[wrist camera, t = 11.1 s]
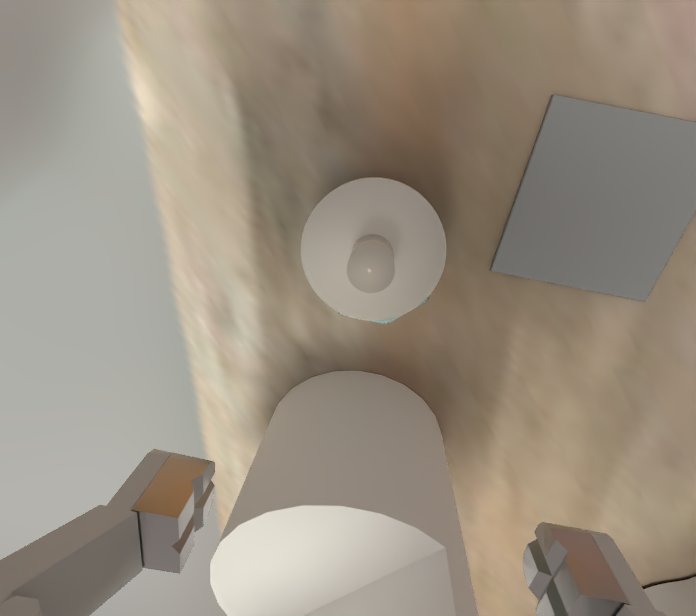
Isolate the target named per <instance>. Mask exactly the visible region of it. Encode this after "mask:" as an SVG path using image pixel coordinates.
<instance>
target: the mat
mask: <svg viewBox="0 0 696 616" xmlns="http://www.w3.org/2000/svg"><path fill="white" fill-rule="evenodd" d="M695 212H696V122H692V121H686V120H681V119H676V118H671V117H666V116H661V115H656V114H651V113H646V112H641V111H635V110H630V109H625V108H620V107H615V106H610V105H605V104H600V103H595V102H590V101H584V100H579V99H574V98H569V97H564V96H559V95H552V97H551V100H550V103H549V105H548V108H547V111H546V114H545V117H544V119H543V122H542V125H541V128H540V131H539V134H538V136H537V139H536V142H535V145H534V148H533V150H532V153H531V156H530V159H529V162H528V164H527V167H526V170H525V173H524V176H523V178H522V181H521V184H520V187H519V190H518V193H517V195H516V198H515V201H514V204H513V207H512V209H511V212H510V215H509V218H508V221H507V223H506V226H505V229H504V232H503V235H502V237H501V240H500V243H499V246H498V249H497V251H496V254H495V257H494V260H493V263H492V266H491V268H490V271H493V272H498V273H503V274H508V275H513V276H518V277H523V278H528V279H533V280H538V281H543V282H547V283H552V284H557V285H562V286H567V287H572V288H577V289H582V290H587V291H592V292H597V293H602V294H607V295H612V296H617V297H622V298H627V299H632V300H637V301H642V302H645V301H646V299H647V298H648V296H649V294H650V292H651V290H652V289H653V287H654V285H655V283H656V281H657V280H658V278H659V276H660V274H661V273H662V271H663V269H664V267H665V265H666V264H667V262H668V260H669V258H670V256H671V255H672V253H673V251H674V249H675V247H676V246H677V244H678V242H679V240H680V239H681V237H682V235H683V233H684V231H685V230H686V228H687V226H688V224H689V222H690V221H691V219H692V217H693V215H694V213H695Z"/></svg>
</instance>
